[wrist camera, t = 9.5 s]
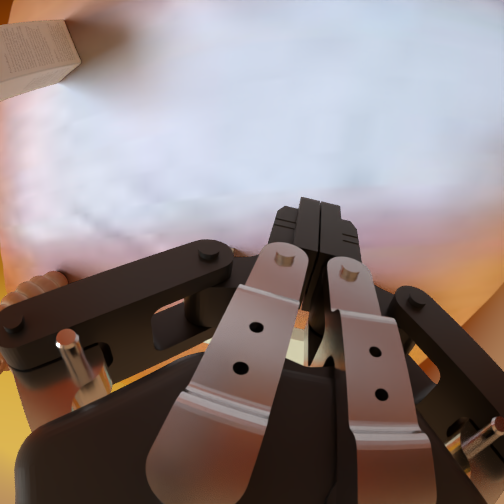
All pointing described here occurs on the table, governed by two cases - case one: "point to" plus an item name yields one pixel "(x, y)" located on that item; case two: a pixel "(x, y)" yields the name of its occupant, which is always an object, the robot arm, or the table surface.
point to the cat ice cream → (31, 295)
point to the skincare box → (34, 56)
